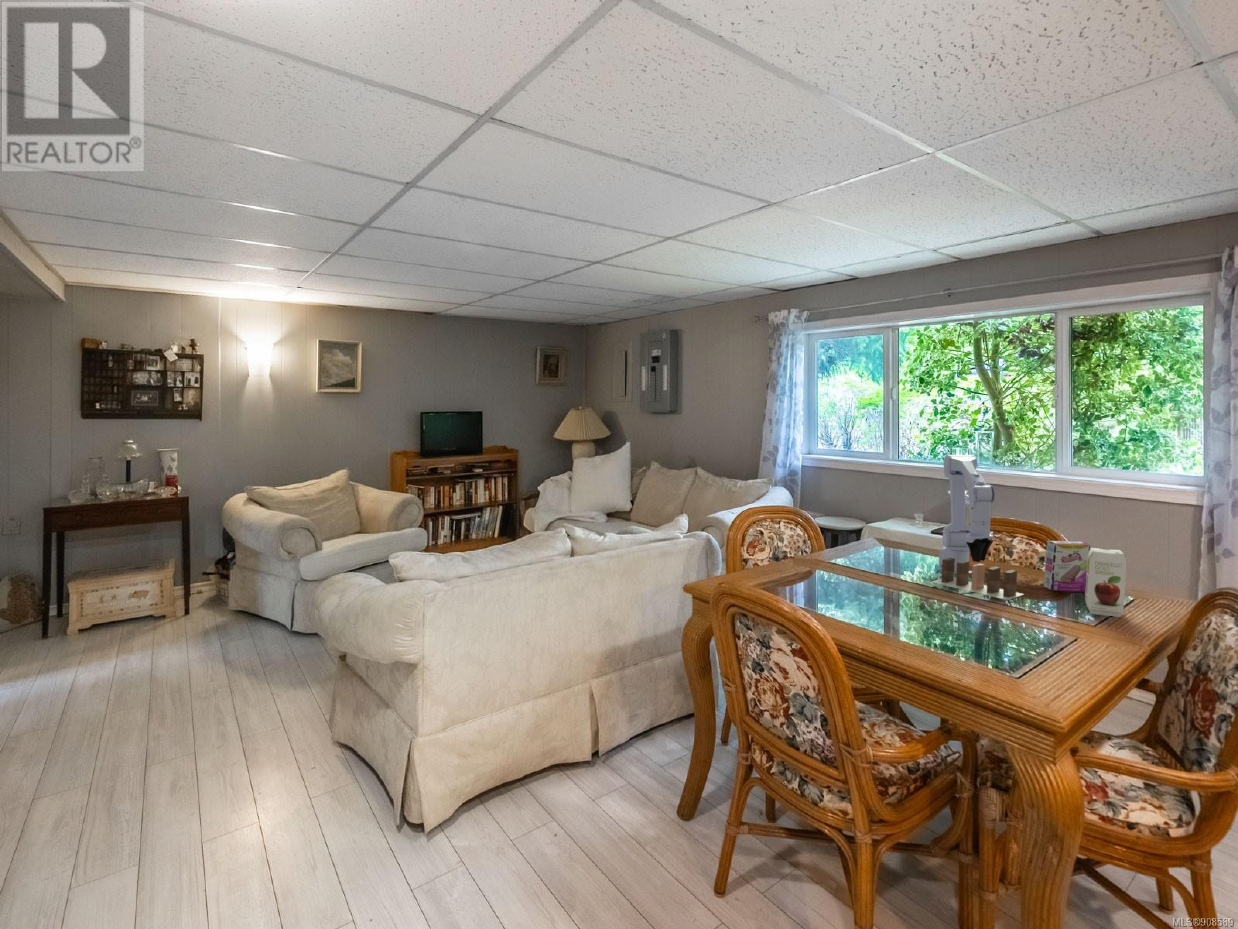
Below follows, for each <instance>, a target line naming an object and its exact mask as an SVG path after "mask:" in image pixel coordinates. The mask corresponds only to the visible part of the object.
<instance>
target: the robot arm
mask: <svg viewBox="0 0 1238 929" xmlns="http://www.w3.org/2000/svg"><path fill="white" fill-rule="evenodd" d="M977 468H978V459H977V456H976V455H975V454H946V455H945V456H944V460H943V474H944V478H947V479H948V482H949V495H950V496H949V497H950V498H949V499H950V520H951V521H950V523H948V524H947V525H945V526H944V527H943V529H942V538H941V539H942V545H943V547H941V549H939V554H938V569H937V571H941V572H942V560H943V559H946V558H955V563H954V575H956V574H957V562H960V561H964V560H965V561H969V562H970V555H971V560H972V562H977V563H980V562H981V561H982V562H984V561H985V560H986V557H987V555H988V554H987V553H988V552H989V549H990V547H991V545H992V544H993V542H994V540H993V538H994V531H991V516H992V515H991V513H992V512H991V511H992V503H994V500H995V497H996V492H995V487H994V485H991V484H987V482H986V480H985V479H984V477H983V475H982V474H981V473H979V472H977V471H976V470H977ZM965 486H966V488H967V490H968V498H969V507H970V522H969V523H970V524H968V523H967V521H966V520H967V518H966V495H965V494H966V493H965V492H966V491H965V489H966V488H965ZM969 574H972V570H969Z"/></svg>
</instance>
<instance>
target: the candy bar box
mask: <svg viewBox="0 0 1238 929" xmlns="http://www.w3.org/2000/svg"><path fill="white" fill-rule="evenodd" d="M1090 549H1091V544H1089V543H1086V542H1084V541H1079V540H1078V541H1077V540H1075V541H1073V540H1072V541H1071V540H1070V541H1069V540H1047V541H1046V551H1045V564H1044V578H1043V587H1044V588H1046V589H1048V590H1050V591H1053V592H1054V591H1056V592H1057V591H1060V592H1067V593H1085V591H1086V574H1087V559H1088V554H1089V551H1090Z"/></svg>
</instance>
